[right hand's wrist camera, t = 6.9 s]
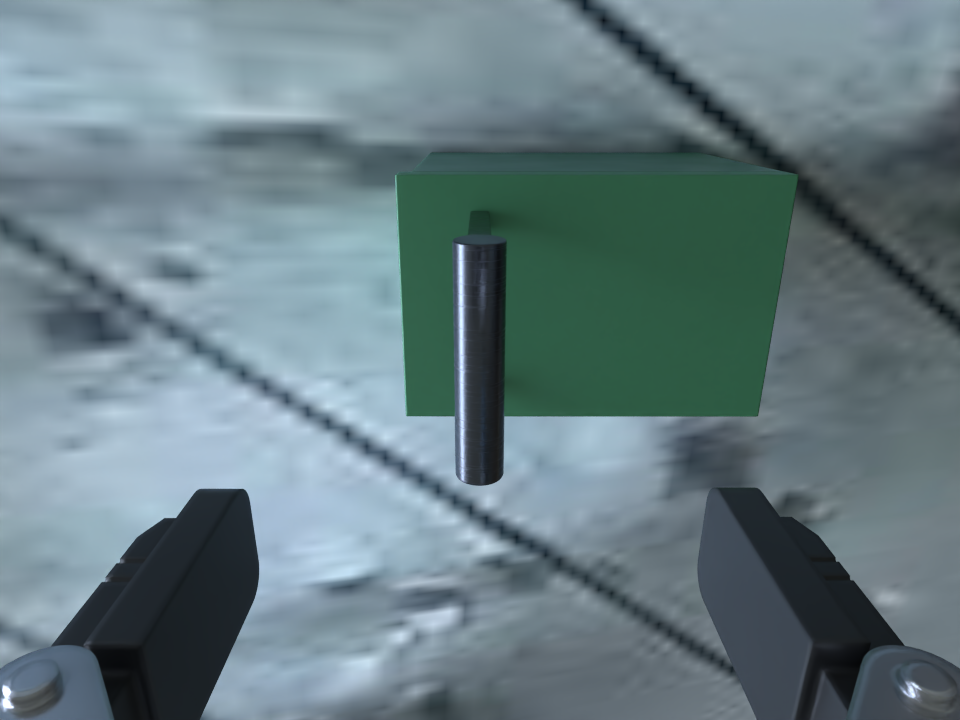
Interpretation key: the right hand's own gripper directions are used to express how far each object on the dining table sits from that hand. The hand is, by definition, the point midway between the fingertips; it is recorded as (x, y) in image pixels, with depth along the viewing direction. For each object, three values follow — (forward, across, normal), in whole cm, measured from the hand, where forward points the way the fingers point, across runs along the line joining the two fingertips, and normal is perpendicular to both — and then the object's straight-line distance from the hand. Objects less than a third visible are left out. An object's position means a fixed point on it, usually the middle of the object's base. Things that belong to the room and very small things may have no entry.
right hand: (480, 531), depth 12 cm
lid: (+15, +4, 0) cm, 16 cm away
